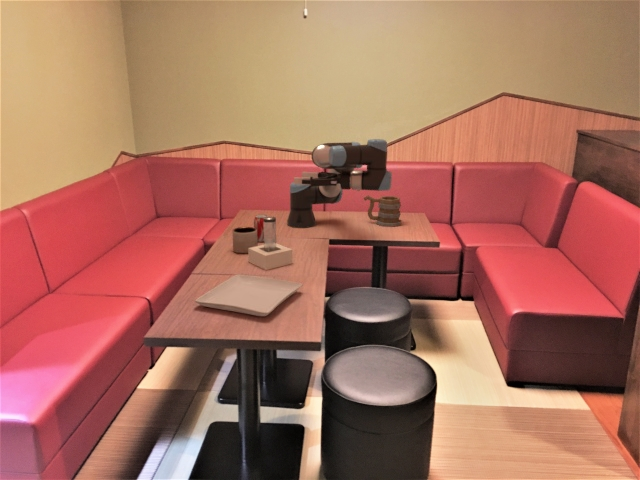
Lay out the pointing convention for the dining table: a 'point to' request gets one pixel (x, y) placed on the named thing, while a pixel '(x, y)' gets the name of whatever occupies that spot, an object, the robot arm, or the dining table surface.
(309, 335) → the dining table surface
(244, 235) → the planter
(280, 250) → the socket block
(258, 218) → the soda can
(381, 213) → the tankard
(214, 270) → the dining table surface
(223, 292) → the square plate
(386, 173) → the robot arm
